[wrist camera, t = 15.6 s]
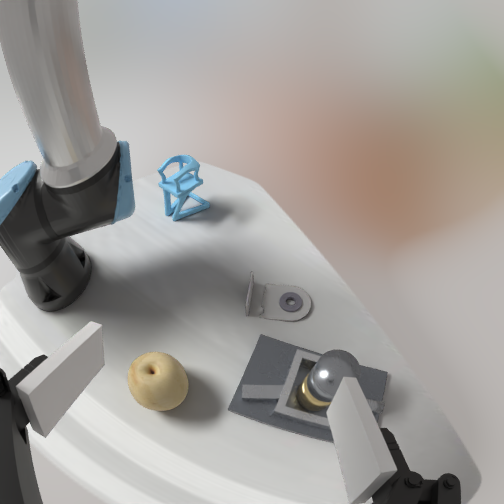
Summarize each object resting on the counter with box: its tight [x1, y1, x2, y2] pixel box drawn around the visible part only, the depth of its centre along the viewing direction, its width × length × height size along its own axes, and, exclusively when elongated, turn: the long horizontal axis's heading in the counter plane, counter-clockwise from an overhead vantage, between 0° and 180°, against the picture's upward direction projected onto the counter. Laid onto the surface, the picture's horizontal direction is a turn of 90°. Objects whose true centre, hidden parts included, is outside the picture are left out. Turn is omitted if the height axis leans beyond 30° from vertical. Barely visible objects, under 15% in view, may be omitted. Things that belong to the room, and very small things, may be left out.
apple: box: [128, 352, 188, 411], centre depth 31 cm, size 8×8×8 cm
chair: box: [158, 155, 210, 221], centre depth 54 cm, size 8×8×12 cm
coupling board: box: [228, 334, 387, 443], centre depth 33 cm, size 20×12×4 cm, turn 69°
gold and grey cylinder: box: [297, 350, 361, 411], centre depth 29 cm, size 5×5×10 cm
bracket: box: [245, 271, 311, 321], centre depth 43 cm, size 7×10×4 cm, turn 82°
